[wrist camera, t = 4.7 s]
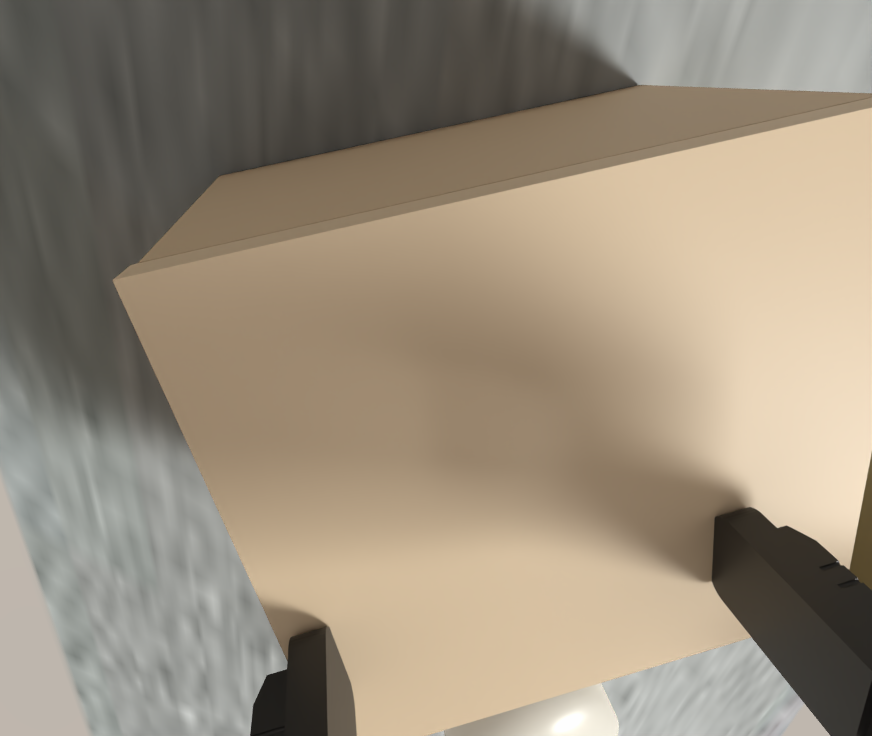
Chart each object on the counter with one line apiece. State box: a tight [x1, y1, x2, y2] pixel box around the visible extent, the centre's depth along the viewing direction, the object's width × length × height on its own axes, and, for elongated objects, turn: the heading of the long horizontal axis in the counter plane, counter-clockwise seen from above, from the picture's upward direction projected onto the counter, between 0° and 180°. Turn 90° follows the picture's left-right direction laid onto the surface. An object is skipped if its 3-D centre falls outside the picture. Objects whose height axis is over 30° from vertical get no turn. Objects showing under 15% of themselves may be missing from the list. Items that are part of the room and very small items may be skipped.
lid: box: [112, 98, 872, 736], centre depth 11 cm, size 11×12×1 cm
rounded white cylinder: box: [444, 683, 619, 736], centre depth 23 cm, size 6×6×6 cm
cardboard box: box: [139, 85, 872, 263], centre depth 15 cm, size 11×12×8 cm
